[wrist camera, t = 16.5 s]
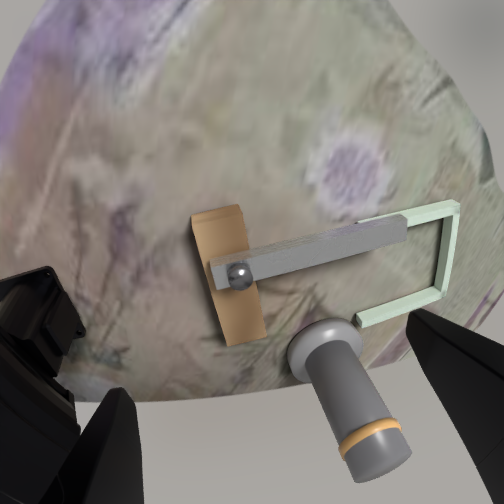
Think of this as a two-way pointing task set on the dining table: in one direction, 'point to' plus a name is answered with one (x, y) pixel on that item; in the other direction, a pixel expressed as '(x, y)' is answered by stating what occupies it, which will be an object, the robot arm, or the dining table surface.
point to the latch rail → (227, 299)
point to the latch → (306, 251)
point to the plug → (348, 398)
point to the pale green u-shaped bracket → (447, 248)
